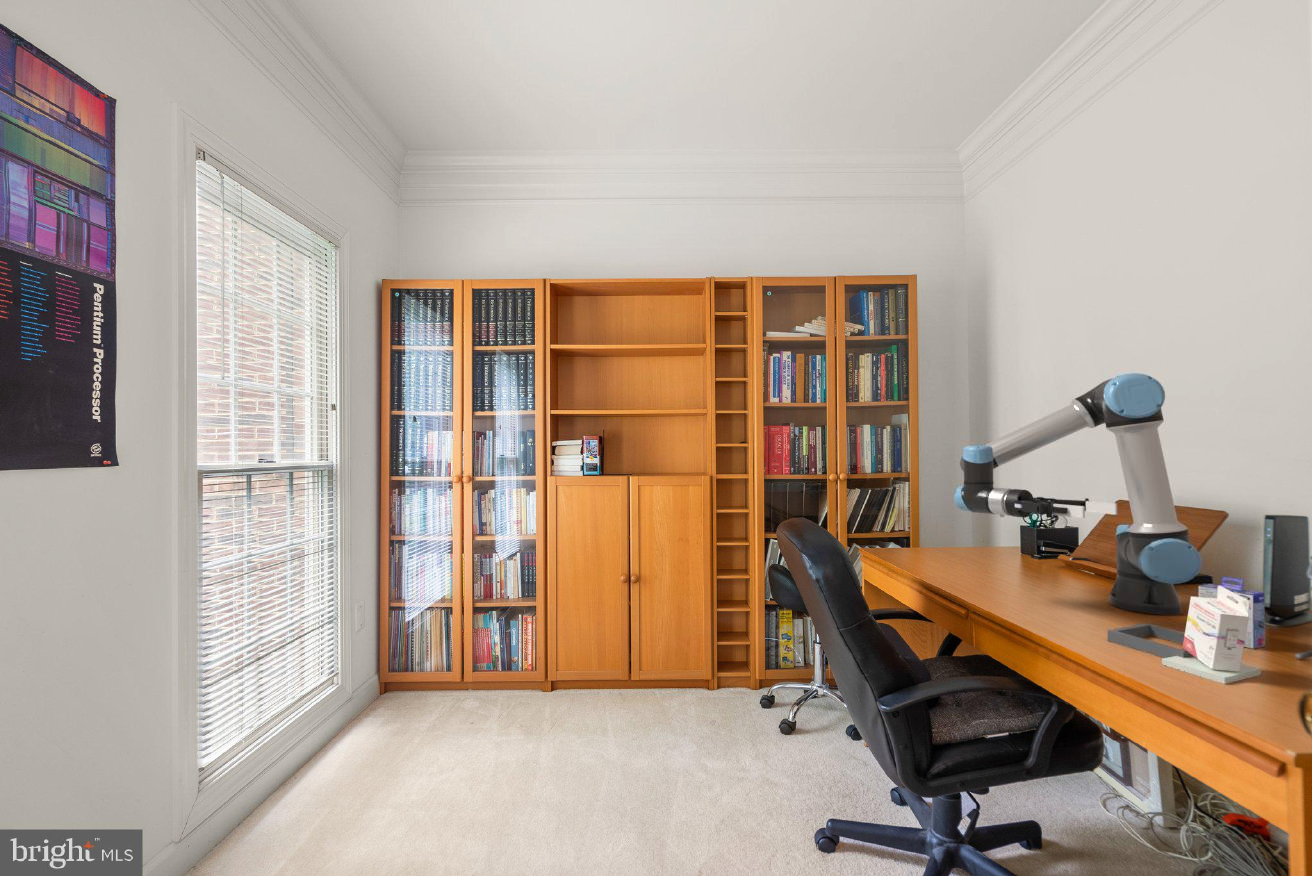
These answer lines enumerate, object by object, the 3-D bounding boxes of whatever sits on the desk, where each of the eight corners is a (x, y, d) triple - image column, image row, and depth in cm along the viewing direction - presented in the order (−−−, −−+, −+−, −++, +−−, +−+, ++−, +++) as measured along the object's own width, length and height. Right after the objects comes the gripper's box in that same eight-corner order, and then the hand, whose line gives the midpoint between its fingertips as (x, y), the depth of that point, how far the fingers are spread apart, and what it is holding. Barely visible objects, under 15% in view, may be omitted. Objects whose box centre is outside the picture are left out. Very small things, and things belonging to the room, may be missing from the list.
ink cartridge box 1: (1267, 646, 125) (1266, 582, 125) (1255, 650, 123) (1254, 585, 123) (1209, 633, 134) (1208, 573, 134) (1197, 636, 132) (1196, 575, 132)
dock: (1147, 633, 134) (1147, 623, 134) (1224, 654, 121) (1224, 642, 121) (1107, 640, 129) (1107, 630, 129) (1183, 663, 116) (1183, 651, 116)
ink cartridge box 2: (1180, 647, 117) (1190, 581, 115) (1207, 650, 116) (1219, 584, 114) (1211, 669, 109) (1223, 598, 107) (1241, 673, 108) (1254, 601, 106)
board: (1197, 656, 119) (1197, 651, 119) (1260, 674, 110) (1260, 668, 110) (1162, 664, 115) (1161, 658, 115) (1224, 684, 106) (1224, 677, 106)
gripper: (1040, 513, 157) (1129, 522, 138) (982, 519, 147) (1069, 529, 128) (1040, 487, 158) (1128, 492, 138) (981, 490, 147) (1069, 497, 128)
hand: (1100, 510), depth 133 cm, fingers open, 13 cm apart
